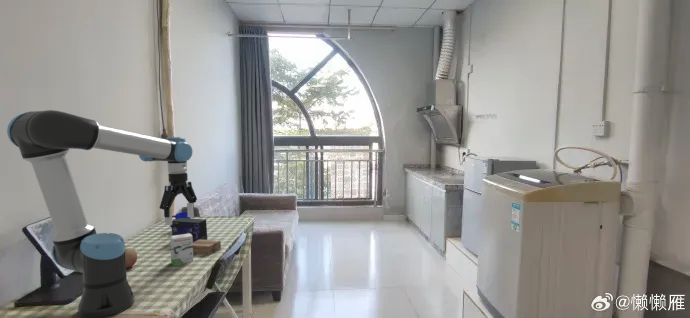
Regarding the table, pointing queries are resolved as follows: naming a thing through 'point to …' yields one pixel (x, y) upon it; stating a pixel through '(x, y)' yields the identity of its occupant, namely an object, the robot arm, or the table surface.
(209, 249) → the walnut block
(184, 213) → the mug
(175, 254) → the ink box
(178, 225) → the box
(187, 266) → the table surface
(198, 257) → the table surface
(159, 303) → the table surface
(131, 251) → the fruit
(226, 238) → the table surface
